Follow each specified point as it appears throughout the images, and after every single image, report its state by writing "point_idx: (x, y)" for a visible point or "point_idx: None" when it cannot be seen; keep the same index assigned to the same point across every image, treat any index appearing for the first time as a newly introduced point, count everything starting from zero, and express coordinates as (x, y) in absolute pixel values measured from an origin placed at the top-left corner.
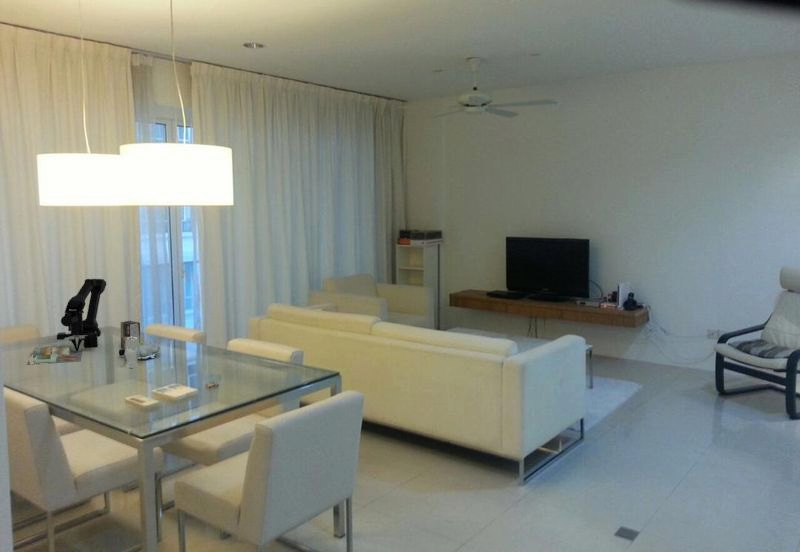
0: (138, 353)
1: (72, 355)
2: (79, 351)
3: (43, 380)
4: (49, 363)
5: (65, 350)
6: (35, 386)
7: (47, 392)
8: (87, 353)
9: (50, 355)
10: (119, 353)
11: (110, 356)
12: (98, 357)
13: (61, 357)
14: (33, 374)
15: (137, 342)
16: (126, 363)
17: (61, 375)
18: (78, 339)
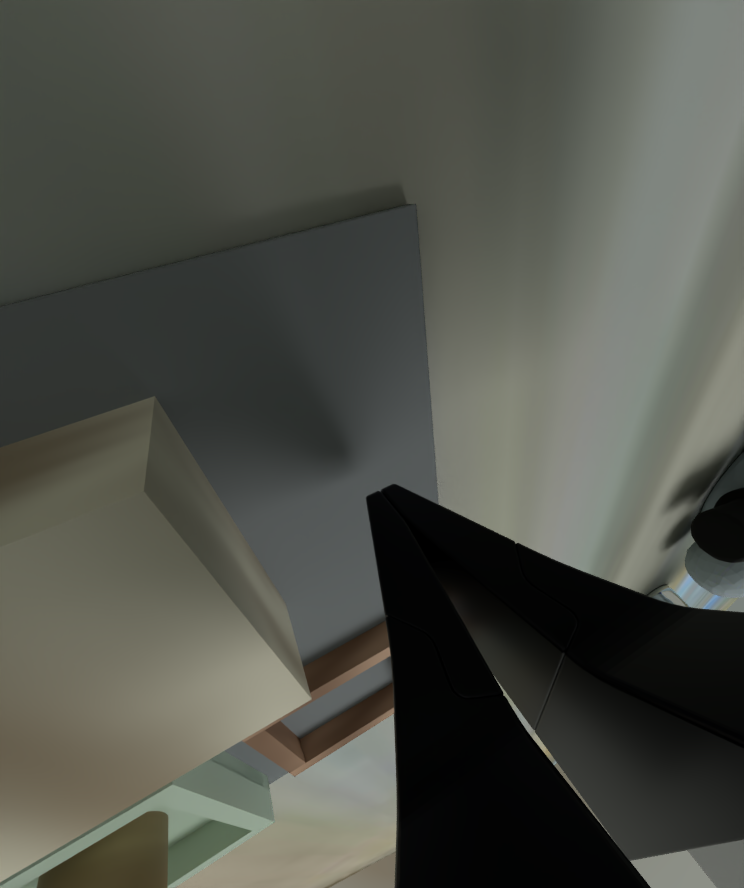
0: None
1: (332, 588)
2: (370, 351)
3: (340, 847)
4: None
5: (248, 727)
6: (338, 866)
7: (393, 842)
8: (493, 422)
9: (156, 881)
10: (709, 553)
11: (645, 484)
12: (567, 534)
13: (274, 747)
14: (248, 878)
15: None
16: None
17: (392, 795)
18: (634, 856)
